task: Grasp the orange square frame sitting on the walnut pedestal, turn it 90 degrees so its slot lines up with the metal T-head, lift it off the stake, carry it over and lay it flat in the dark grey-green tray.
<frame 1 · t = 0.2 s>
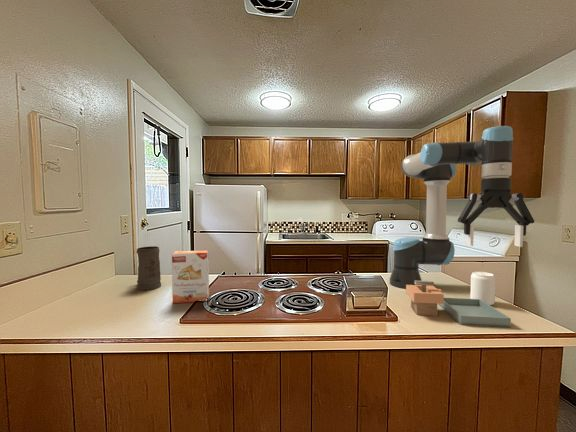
hand: (493, 245, 86), 27 cm above the countertop, fingers open, 13 cm apart
stake: (423, 311, 103), on the countertop
orange square frame: (423, 298, 102), point 5 cm above the countertop, touching stake
cracker box: (191, 300, 115), on the countertop
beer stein: (146, 286, 135), on the countertop
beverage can: (482, 303, 112), on the countertop
tray: (470, 314, 99), on the countertop
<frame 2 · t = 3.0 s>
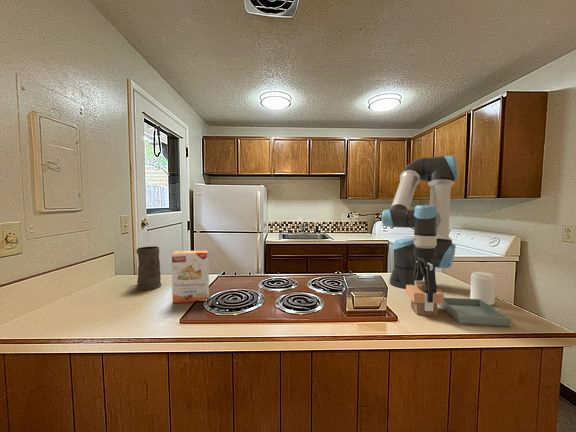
hand: (423, 305, 102), 2 cm above the countertop, fingers closed on orange square frame, 10 cm apart
orange square frame: (423, 298, 102), point 5 cm above the countertop, touching gripper, stake
everything else where it was.
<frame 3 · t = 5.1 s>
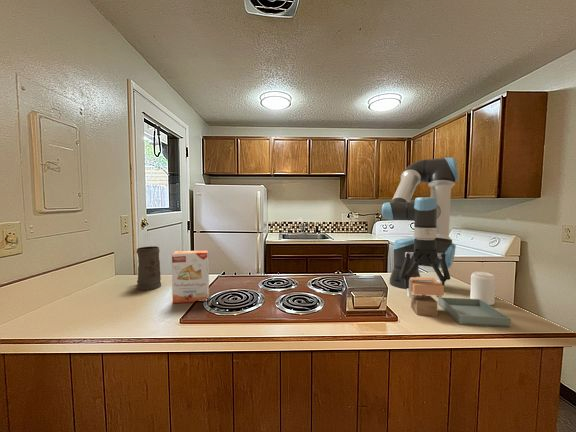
hand: (423, 297, 103), 5 cm above the countertop, fingers closed on orange square frame, 10 cm apart
orange square frame: (424, 290, 102), point 8 cm above the countertop, touching gripper
everything else where it was.
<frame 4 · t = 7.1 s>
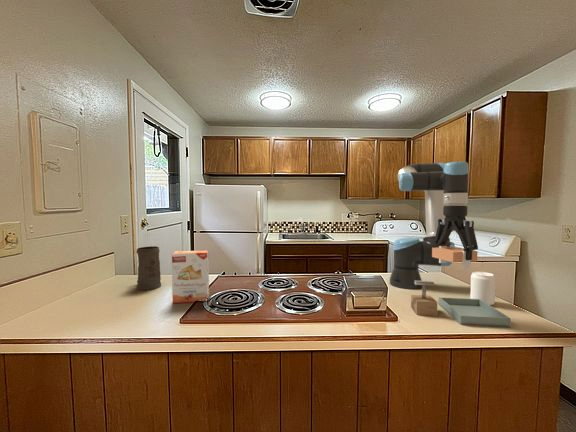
hand: (453, 265, 99), 18 cm above the countertop, fingers closed on orange square frame, 10 cm apart
orange square frame: (453, 258, 99), point 20 cm above the countertop, touching gripper
everything else where it was.
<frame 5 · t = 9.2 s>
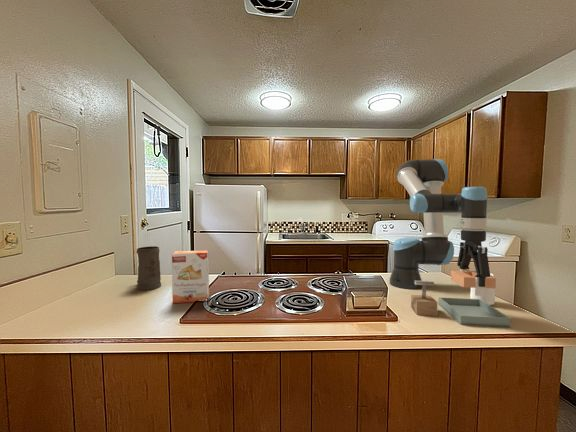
hand: (471, 290, 99), 9 cm above the countertop, fingers closed on orange square frame, 10 cm apart
orange square frame: (471, 283, 99), point 12 cm above the countertop, touching gripper
everything else where it was.
when the fingers open (3 cm above the countertop, at t = 11.0 s): orange square frame drops 4 cm, resting on tray.
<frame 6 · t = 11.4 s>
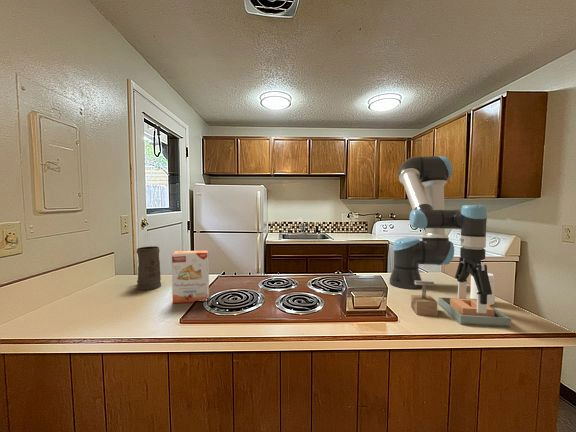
hand: (471, 305, 99), 4 cm above the countertop, fingers open, 13 cm apart
orange square frame: (470, 313, 99), point 1 cm above the countertop, touching tray
everything else where it was.
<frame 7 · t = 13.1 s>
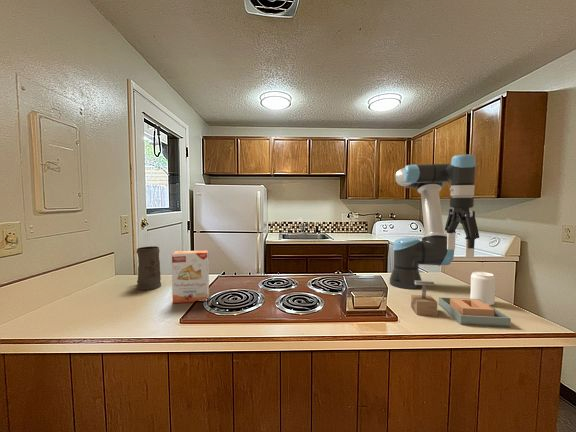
hand: (459, 253, 103), 22 cm above the countertop, fingers open, 13 cm apart
nothing on the countertop moved.
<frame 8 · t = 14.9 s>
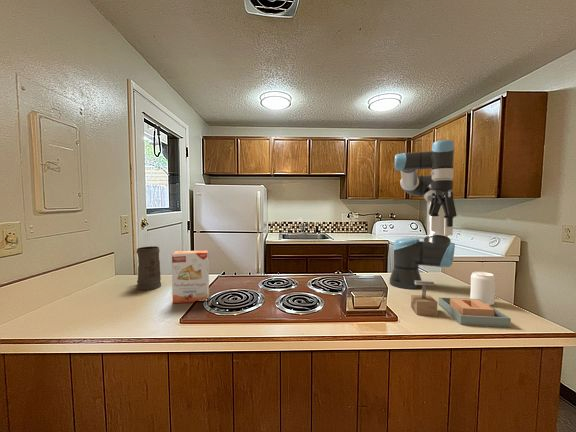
hand: (440, 233, 109), 29 cm above the countertop, fingers open, 13 cm apart
nothing on the countertop moved.
at the end: orange square frame inside the target area on the tray (0.0 cm from its centre), point 0.6 cm above the tray's base; orange square frame tilted 0°; the gripper is holding nothing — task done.
